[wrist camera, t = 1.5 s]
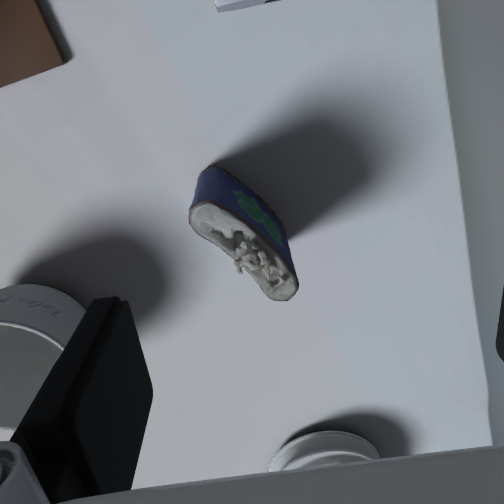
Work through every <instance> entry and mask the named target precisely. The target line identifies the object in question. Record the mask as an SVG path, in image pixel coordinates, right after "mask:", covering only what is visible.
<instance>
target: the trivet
mask: <svg viewBox="0 0 504 504" xmlns="http://www.w3.org/2000/svg"><path fill="white" fill-rule="evenodd" d="M64 64H66V60H65V58H64V56H63V54H62V52H61V50H60V48H59V45H58V43H57V41H56V39H55V37H54V35H53V32H52V30H51V28H50V26H49V24H48V22H47V20H46V17H45V15H44V13H43V11H42V9H41V7H40V5H39V2H38V0H0V88H1V87H4V86H7V85H10V84H12V83H15V82H18V81H20V80H23V79H26V78H29V77H31V76H34V75H37V74H39V73H42V72H45V71H48V70H50V69H53V68H56V67H58V66H61V65H64Z"/></svg>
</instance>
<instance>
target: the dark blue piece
mask: <svg viewBox="0 0 504 504" xmlns="http://www.w3.org/2000/svg"><path fill="white" fill-rule="evenodd" d="M189 224H190V225H191V227H192V228H193V230H194V231H195V232H196V233H197V234H198V235H200V236H201V237H203V238H205V239H207V240H208V241H210V242H211V243H213V244H215V245H216V246H218V247H220V248H221V249H222V250H223V251H224V252H226V253H227V254H228V255H229V256H230V257H232V258H233V259H234V260H235V261H234V266H235V267H236V268H237V271H238V273H239V274H242V273H243V272H242V270H241V267H243V268H244V269H246V271H247V272H248V273H249V274H250V275H251V276H252V277H253V278H254V279H255V281H256V282H257V283H258V285H259V286H260V288H261V289H262V291H263V292H264V293H265V294H266V295H267V296H268V297H269V298H270V299H272V300H274V301H276V300H277V301H288V300H290V299H291V298H292V297H293V296H294V295H295V294H296V292H297V290H298V288H299V282H298V278H297V275H296V272H295V269H294V264H293V261H292V258H291V253H290V248H289V245H288V241H287V234H286V230H285V229H284V227H283V224H282V222H281V221H280V219H279V218H278V217H277V216H276V214H275V212H274V211H272V210H271V208H270V206H268V204H267V203H266V202H264V201H263V200H262V198H261V197H260V196H257V195H256V194H255V193H254V192H253V191H252V190H250V189H249V188H248V187H247V186H245V185H244V184H243V183H241V182H240V181H239V180H238V179H236V177H234V176H232V175H231V174H230V173H228V172H226V171H225V170H222V169H221V168H216V167H209V168H206V169H205V170H203V171H202V172H201V173H200V175H199V176H198V180H197V186H196V189H195V195H194V199H193V202H192V205H191V206H190V208H189Z"/></svg>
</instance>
